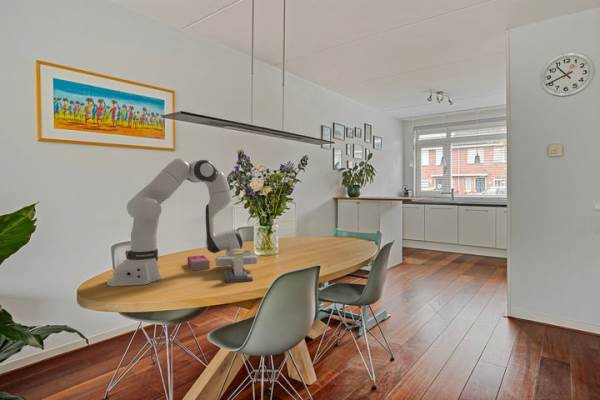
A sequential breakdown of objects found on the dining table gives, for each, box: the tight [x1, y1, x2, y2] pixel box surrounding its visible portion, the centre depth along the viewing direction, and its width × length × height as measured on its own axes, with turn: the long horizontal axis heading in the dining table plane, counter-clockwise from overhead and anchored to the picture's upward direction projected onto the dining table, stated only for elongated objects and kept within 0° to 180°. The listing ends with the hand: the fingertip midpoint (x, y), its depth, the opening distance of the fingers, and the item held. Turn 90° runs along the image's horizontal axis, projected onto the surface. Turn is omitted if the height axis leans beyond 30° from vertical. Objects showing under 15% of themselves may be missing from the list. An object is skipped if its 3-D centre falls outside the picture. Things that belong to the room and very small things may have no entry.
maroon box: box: [187, 255, 210, 271], centre depth 195 cm, size 9×5×20 cm
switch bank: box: [223, 267, 253, 283], centre depth 171 cm, size 12×16×3 cm
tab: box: [233, 252, 244, 276], centre depth 167 cm, size 4×4×11 cm
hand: (237, 263), depth 169 cm, fingers closed, pressing on tab
